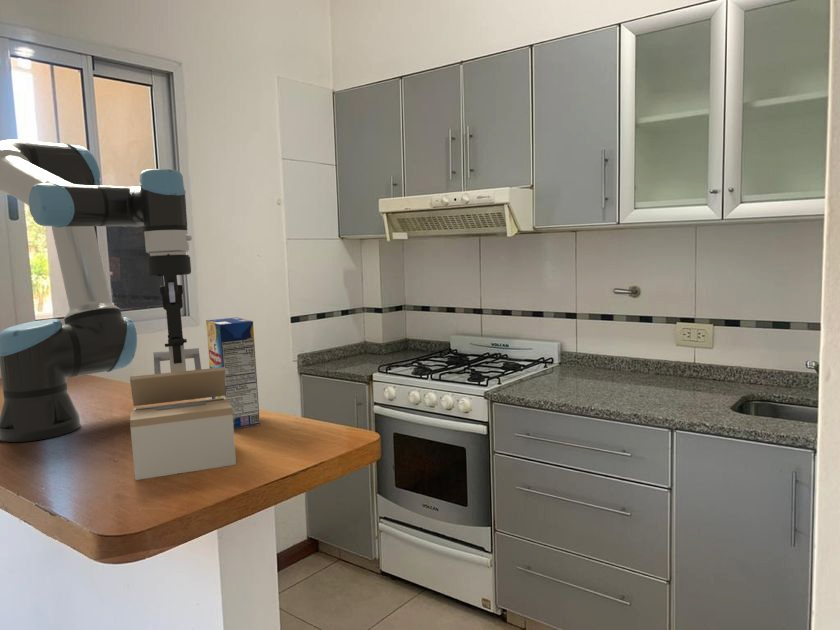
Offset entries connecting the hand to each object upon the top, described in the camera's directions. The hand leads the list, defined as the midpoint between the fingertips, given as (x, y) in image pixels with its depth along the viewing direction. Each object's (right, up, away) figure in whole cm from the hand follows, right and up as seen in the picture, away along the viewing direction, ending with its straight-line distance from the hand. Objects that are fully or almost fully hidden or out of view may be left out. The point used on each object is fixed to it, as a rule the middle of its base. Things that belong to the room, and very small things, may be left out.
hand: (179, 378), depth 122 cm
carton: (+4, -14, -7) cm, 16 cm away
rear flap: (+2, -1, -4) cm, 5 cm away
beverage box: (+6, -11, +17) cm, 21 cm away
